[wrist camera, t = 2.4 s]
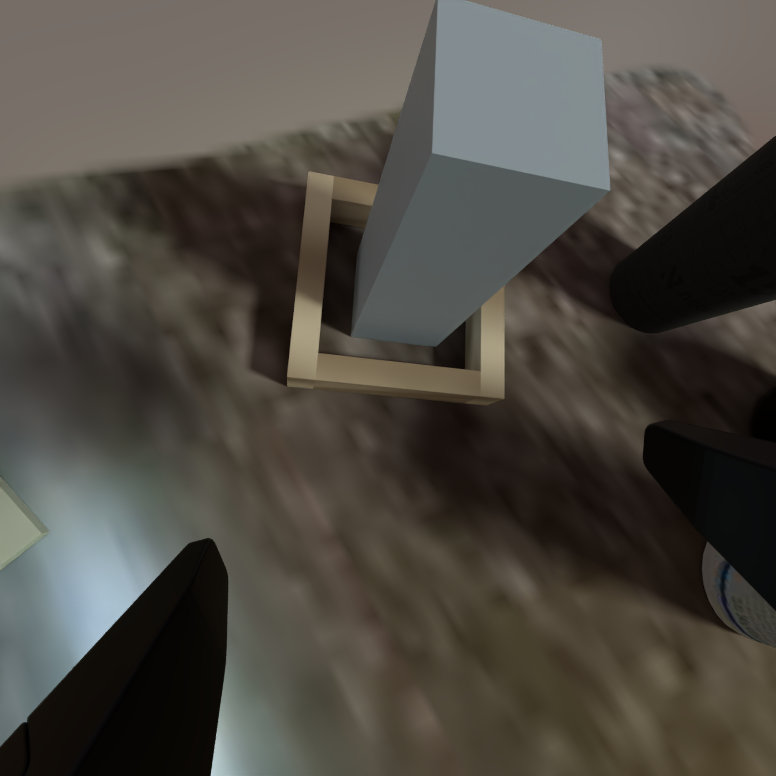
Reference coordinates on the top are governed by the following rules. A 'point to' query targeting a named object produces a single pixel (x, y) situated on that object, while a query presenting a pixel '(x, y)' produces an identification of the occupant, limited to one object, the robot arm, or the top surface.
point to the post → (479, 169)
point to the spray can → (737, 600)
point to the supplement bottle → (766, 418)
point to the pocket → (371, 376)
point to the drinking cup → (706, 254)
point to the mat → (16, 526)
